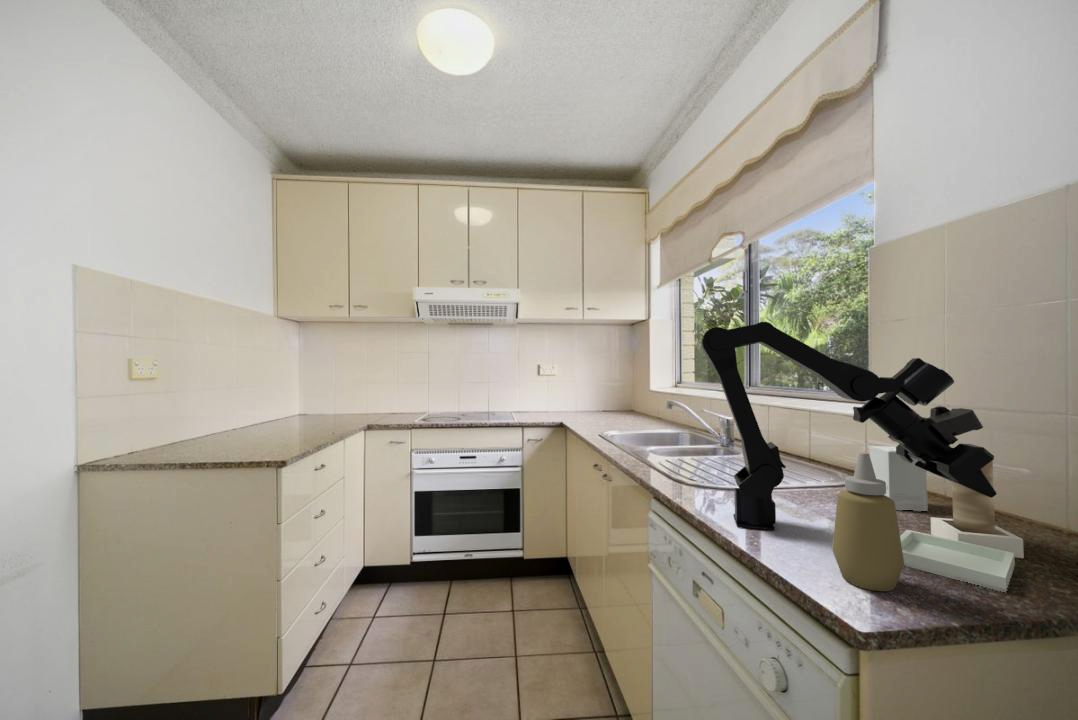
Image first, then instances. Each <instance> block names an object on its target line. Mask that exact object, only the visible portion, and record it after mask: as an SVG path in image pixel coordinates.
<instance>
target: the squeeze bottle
mask: <svg viewBox="0 0 1078 720" xmlns="http://www.w3.org/2000/svg"><path fill="white" fill-rule="evenodd" d="M853 472H854V473H853V475H848V476H845V477H844V488H845V490H843V491H841V492H839V493H837V499H836V509H835V519H834V527H833V529H834V530H833V531H834V532H833V539H832V540H833V541H832V552H833V555H834V558H835V561H836V564H837V565H838V566H837V567H838V568H839V571H840V574H841V576H842V578H843V579H844V580H845V581H846V582H848V583H850V584H852V585H853V586H856V587H859V588H862V589H865V590H871V591H876V592H890V591H893V590H894V589H895V588H896V586H897V583H898V580H899V579H900V576H901V573H902V571H903V569H904V567H905V566H904V559H903V553H902V546H901V540H900V536H901V533H900V528H899V527H900V526H899V522H898V521H899V520H898V514H897V510H896V507H895V503H894V501H893V500H892V499H891V498H889V497H887V496H885V495H884V494H886V483H885V481H883V480H880V479H876V476H875V473H874V469H873V466H872V462H871V459H870V453H867V452H866V453H865V452H858V457H857V460H856V465H855V469H854V471H853Z"/></svg>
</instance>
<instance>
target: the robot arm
mask: <svg viewBox="0 0 1078 720" xmlns="http://www.w3.org/2000/svg"><path fill="white" fill-rule="evenodd" d="M754 344H755V345H756V344H761V345H762V346H764V347H765V348H767V349H769V350H771V351H772V352H774V353H776V354H778V355H779V356H781V357H783V358H785V359H787V360H788V361H790V362H791V363H793V364H796V365H797V366H799V367H800V368H802V369H805V370H806V371H808V372H810V373H811V374H813V375H814V376H815V377H816V378H818V379H820V381H821V382H822V383H823V384H825V386H826V387H828V388H829V389H830V390H832V392H834V393H835V394H836V395H837V396H839V397H840V398H842V399H845V400H849V401H856V402H861V403H863V402H865V403H864V405H862V406H853V407H852V409H853V417H852V420H853V421H855V422H857V423H862V424H863V423H865V422H866V421H868V420H869V419H870V421H872V422H873V423H875V424H876V425H877V426H878V427H879V428H880V429H881V430H882V431H884V432H885V433H886V434H887V435H888V436H887V438H889V440H891V441H892V442H895V443H898V445H896V446H895V447H896V454H897V455H898V456H900V457H901V458H902V459H903V460H904V461H907V462H909V463H912V462H913V460H912V458H914V459H916V460H917V461H918V462H916V463H915V466H917V467H920V468H922V469H924V470H926V472H929V473H931V474H934V475H936V476H938V477H941V478H942V479H944V480H948V481H949V482H952V481H954V482H956V483H958V484H961V485H963V486H965V487H967V488H970V489H972V490H974V491H977V492H979V493H981V494H983V495H986V496H988V497H990V498H992V497H994V498H995V496H996V495H997V491H996V490H995V488H993V487H992V486H991V484H990V483H989V481H988V480H987V478H986V477H985V475H984V474H983V472H982V471H981V469H982V468H983V467H984V466H986V465H987V464H988V463H990V462H991V461H992V460H993V461H994V460H995V455H993V454H992V453H991V452H990V451H989V450H988V449H986V448H985V447H983V446H979V445H976V444H971V443H958V444H957V445H956V446H954V447H951V445H953V444H955V443H956V442H957V441H958V440H959V439H958V438H957V436H960V435H963V434H966V433H969V432H971V431H979V430H981V429H983V428H984V426H983V424H982V422H981V421H980V419H979V417H978V416H977V414H976V413H975V411H974V409H969V408H962V407H961V408H959V407H958V408H951V410H950V409H948V407H945V406H942V405H938V406H934V407H932V408H930V413H929V414H930V416H929V417H923V416H921V415H920V414H918V413H917V411H915V410H914V409H913V408H912V407H911V406H913V407H915V406H917V405H918V404H919V405H920V406H924V407H926V406H927V405H929V404H930V403H931V402H932V401H934V400H935V399H936V398H937V397H939V396H940V395H941V394H942V393H943V392H945V391H946V390H947V389H948V388H951V386H952V385H953V384H955V380H954V378H953V377H952V376H951V375H950V374H949V372H947V371H945V370H944V369H942V368H939V367H937V366H935V365H933V364H931V363H929V362H925V361H924V360H923V359H921V358H920V357H913V358H911V359H910V360H909V361H908V362H907V363H906V364H905V366H904V367H903V368H901V369H899V371H897V373H895V374H894V375H893V376H892V377H888V376H887V377H886V376H884V377H883V376H880V377H879V376H878V375H877V374H876V373H874V372H873V371H871V370H868V369H865V368H863V367H860V366H857V365H854V364H851V363H848V362H844V361H841V360H837V359H834V358H832V357H830V356H828V355H826V354H824V353H822V352H821V351H820V350H818V349H815V348H813V347H812V346H810V345H808V344H806V343H804V342H803V341H800V340H799V339H797V338H795V337H793V336H792V335H790V334H788V333H786V332H784V331H782V330H780V329H778V328H777V327H775V326H774V325H773V324H772V323H771V322H767V321H760V322H758V323H755V324H750V325H744V326H737V327H734V328H730V329H727V328H724V327H721V326H720V327H719V326H715V327H712V328H709V329H708V330H707V331H706V332H704V334H703V336H702V338H701V340H700V347H701V350H702V352H703V353H704V355H705V356H706V359H707V360H708V362H709V364H710V365H711V367H712V368H713V370H714V371H715V373H716V374H717V377H718V379H719V382H720V384H721V388H722V390H723V392H724V393H723V394H724V396H725V398H726V401H727V404H728V406H729V409H730V411H731V414H732V418H733V420H734V422H735V426H736V429H737V431H738V433H739V437H740V440H741V446H742V447H741V448H742V456H743V463H744V467H742V468H741V469H740V470H739V471H738V472H736V473H735V474H734V476H733V478H734V480H735V482H736V483H735V484H736V485H737V486H738V487H737V488H734V490H733V491H734V514H733V520H734V522H735V525H736V526H737V527H739V528H747V529H748V528H749V529H758V530H766V531H767V530H768V531H775V530H776V528H775V527H776V526H774V525H776V524H777V522H776V521H777V512H776V509H777V508H776V502H775V501H774V499H773V491H774V489H775V488H777V487H778V486H779V485H781V484H782V481H783V480H784V476H785V475H784V474H785V473H784V470H783V469H786V468H787V466H786V465H785V463H783V461H782V460H781V459H782V458H781V455H780V451H779V450H780V449H779V447H778V446H777V445H776V444H774V442H772V441H769V442H766V440H765V439H764V437H763V434H762V431H761V429H760V427H759V423H758V420H757V418H756V415H755V413H754V409H753V407H752V405H751V402H750V399H749V396H748V394H747V391H746V388H745V386H744V383H743V381H742V377H741V376H740V372H739V369H738V361H737V352H736V349H737V348H741V347H746V346H747V347H748V346H750V345H754ZM879 394H882V395H881V396H879V397H877V396H878V395H879ZM906 403H907V404H906ZM908 404H909V405H911V406H909V405H908ZM910 457H912V458H910Z"/></svg>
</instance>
